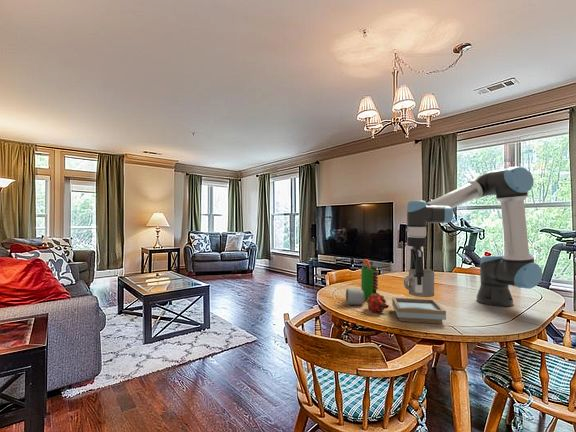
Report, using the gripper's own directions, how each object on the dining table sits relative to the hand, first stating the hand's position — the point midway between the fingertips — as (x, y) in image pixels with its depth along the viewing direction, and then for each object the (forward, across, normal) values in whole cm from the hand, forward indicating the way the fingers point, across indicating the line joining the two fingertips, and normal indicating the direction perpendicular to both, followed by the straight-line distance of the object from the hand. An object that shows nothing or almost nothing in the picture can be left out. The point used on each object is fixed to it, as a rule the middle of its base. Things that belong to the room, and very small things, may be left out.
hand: (416, 289), depth 133 cm
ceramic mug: (+12, -16, -26) cm, 33 cm away
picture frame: (+11, 0, 0) cm, 11 cm away
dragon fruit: (+12, -5, -16) cm, 20 cm away
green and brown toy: (+12, -29, -18) cm, 36 cm away
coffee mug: (+2, 0, 0) cm, 2 cm away
